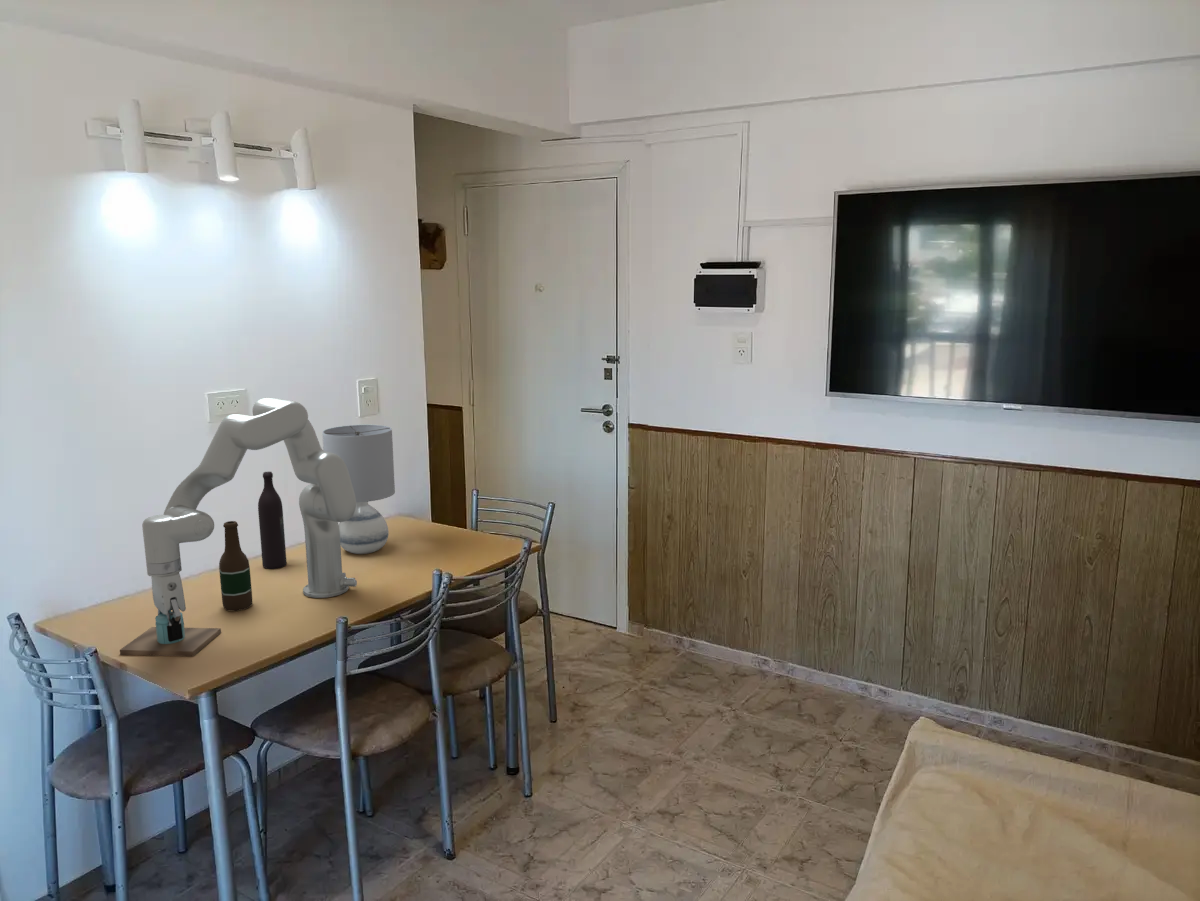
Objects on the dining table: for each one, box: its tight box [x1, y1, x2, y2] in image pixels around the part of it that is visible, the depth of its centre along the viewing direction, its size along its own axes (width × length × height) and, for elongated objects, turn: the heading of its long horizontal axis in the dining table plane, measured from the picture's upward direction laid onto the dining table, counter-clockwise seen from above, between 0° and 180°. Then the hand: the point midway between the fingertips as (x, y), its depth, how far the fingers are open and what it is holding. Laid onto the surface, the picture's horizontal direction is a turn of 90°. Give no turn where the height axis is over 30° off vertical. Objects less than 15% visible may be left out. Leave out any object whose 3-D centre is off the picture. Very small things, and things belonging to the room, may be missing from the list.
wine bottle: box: [257, 471, 287, 570], centre depth 271 cm, size 7×7×30 cm
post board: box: [119, 626, 222, 657], centre depth 216 cm, size 18×14×6 cm
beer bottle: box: [218, 520, 253, 612], centre depth 238 cm, size 8×8×24 cm
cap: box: [154, 610, 185, 644], centre depth 216 cm, size 6×6×6 cm
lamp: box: [321, 424, 396, 555], centre depth 286 cm, size 22×22×40 cm
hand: (171, 635), depth 216 cm, fingers closed on cap, 6 cm apart
